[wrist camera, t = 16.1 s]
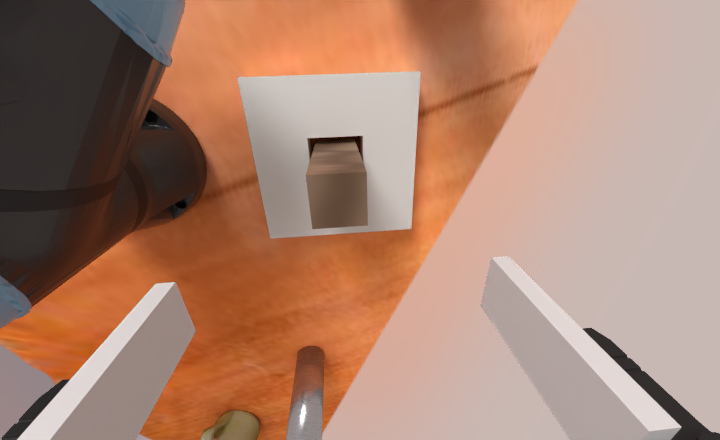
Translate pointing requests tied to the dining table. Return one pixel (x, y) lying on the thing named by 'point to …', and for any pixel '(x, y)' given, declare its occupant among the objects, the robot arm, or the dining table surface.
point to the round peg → (307, 396)
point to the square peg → (337, 185)
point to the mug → (233, 427)
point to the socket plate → (333, 119)
